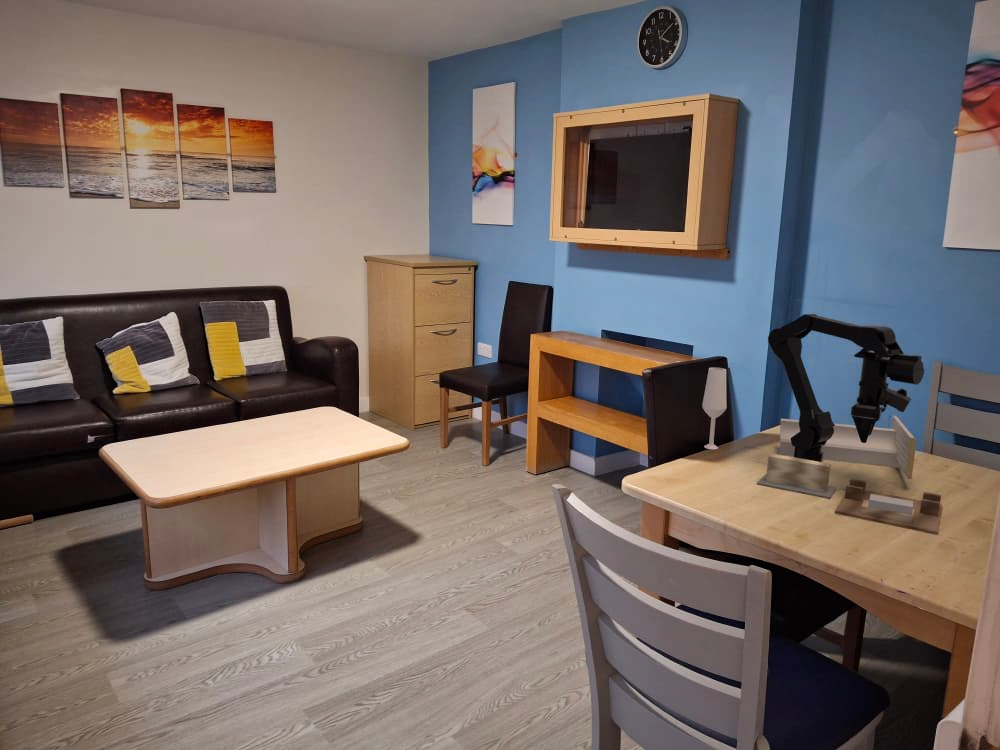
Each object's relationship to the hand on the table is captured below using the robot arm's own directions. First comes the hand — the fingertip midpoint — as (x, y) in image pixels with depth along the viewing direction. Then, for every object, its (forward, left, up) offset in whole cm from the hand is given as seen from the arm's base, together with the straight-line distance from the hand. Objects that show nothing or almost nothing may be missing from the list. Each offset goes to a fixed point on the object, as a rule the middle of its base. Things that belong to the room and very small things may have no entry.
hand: (866, 438), depth 180 cm
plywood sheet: (-13, -12, -12) cm, 21 cm away
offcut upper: (+9, -22, -10) cm, 25 cm away
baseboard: (+6, +18, -12) cm, 22 cm away
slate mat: (-13, -12, -12) cm, 21 cm away
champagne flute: (-40, +7, -12) cm, 43 cm away
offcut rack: (+8, -12, -12) cm, 19 cm away
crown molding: (-8, +19, -12) cm, 24 cm away
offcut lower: (+8, -22, -11) cm, 26 cm away
